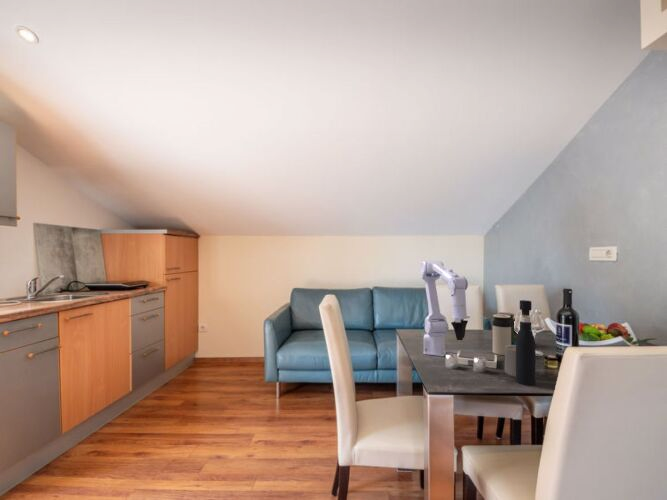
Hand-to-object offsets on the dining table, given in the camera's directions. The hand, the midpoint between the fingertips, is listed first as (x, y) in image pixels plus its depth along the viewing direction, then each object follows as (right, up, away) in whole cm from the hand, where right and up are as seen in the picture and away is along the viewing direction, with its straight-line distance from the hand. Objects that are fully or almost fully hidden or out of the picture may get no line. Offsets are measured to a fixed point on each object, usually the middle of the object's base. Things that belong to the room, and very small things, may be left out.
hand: (460, 338), depth 149 cm
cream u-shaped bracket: (+10, -12, +8) cm, 18 cm away
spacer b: (+7, -12, -3) cm, 14 cm away
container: (+38, -13, +40) cm, 56 cm away
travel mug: (+27, -13, +22) cm, 38 cm away
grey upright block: (+21, -12, -5) cm, 25 cm away
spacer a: (-3, -12, +1) cm, 13 cm away
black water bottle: (+18, -12, -16) cm, 27 cm away
